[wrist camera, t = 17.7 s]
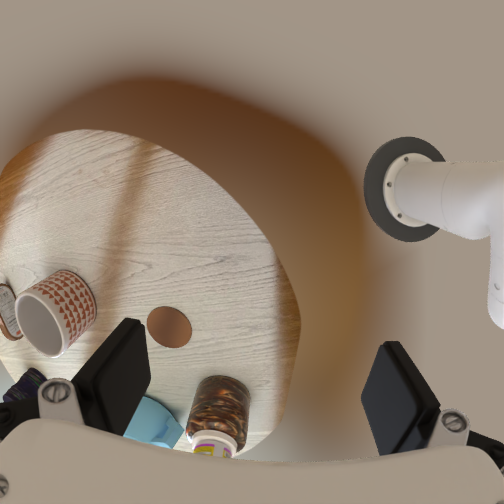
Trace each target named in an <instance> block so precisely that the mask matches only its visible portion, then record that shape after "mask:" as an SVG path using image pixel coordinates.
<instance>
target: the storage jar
mask: <svg viewBox="0 0 504 504" xmlns="http://www.w3.org/2000/svg"><path fill="white" fill-rule="evenodd" d="M45 381H47V379H46V378H45V376H44V375H43V374H42V373H41V372H39V371H38V370H37V369H35V368H30V369H29V370H28V371H27V372H25V373H24V374H23V376H21V378H20V380H19V381H18V382H17V383H16V384H15V385H13V386H12V387H11V388H10V389H9V390H8V391H7V392H6V394H4V395H3V400H4V402H9V401H15V400H20V399H25V398H31V397H36V396H38V389H39V387H40V385H41V384H43V383H44V382H45Z"/></svg>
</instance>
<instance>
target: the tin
mask: <svg viewBox="0 0 504 504" xmlns="http://www.w3.org/2000/svg"><path fill="white" fill-rule="evenodd" d="M15 301H16V298H15V295H14V293H13V291H12V289H11V288H10V287H9V286H8V285H6V284H3V283H1V284H0V329H1V331H2V333H3V334H4V336H5V337H6V338H7V339H9V340H11V341H15V340H19V339H21V338H22V337H23V336H24V335H23V334H22V332H21V330H20V328H19V326H18V323H17V320H16V316H15Z"/></svg>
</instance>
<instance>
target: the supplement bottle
mask: <svg viewBox="0 0 504 504" xmlns="http://www.w3.org/2000/svg"><path fill="white" fill-rule="evenodd" d="M193 453H195V454H202V455H208V456H215V457H223V458H231V457H232V452H231V449H230V448H229V447H228V446H227V445H225V444H223V443H221V442H218V441H213V440H204V441H201V442H198V443H197V444H196V445H195V448H194V451H193Z"/></svg>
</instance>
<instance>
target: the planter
mask: <svg viewBox="0 0 504 504" xmlns="http://www.w3.org/2000/svg"><path fill="white" fill-rule="evenodd" d="M15 316H16V320H17V323H18V326H19V328H20V330H21V332H22V334H23V335H24V337H25V338H26V340H27V341H28V342H29V344H30V345H31V346H32V347H33V348H34V349H35V350H37V351H38V352H39V353H41V354H42V355H44V356H47V357H50V358H56V357H59V356H61V355H62V354H63V353H64V352H65V351H66V350H67V349H68V348H69V347H70V346H71V345H72V344H73V343H74V342H75V341H76V340H77V339H78V338H79V337H80V336H81V335H82V334H83V333H84V332H85V331H86V330H87V329H88V328H89V327H90V326H91V325H92V324H93V322H94V320H95V316H96V305H95V301H94V298H93V295H92V293H91V291H90V289H89V288H88V286H87V285H86V283H85V282H84V281H83V280H82V279H81V278H80V277H79V276H77V275H76V274H74V273H72V272H70V271H64V270H63V271H58V272H56V273H54V274H52V275H51V276H49V277H47V278H45V279H44V280H42V281H40V282H39V283H37V284H35V285H33V286H32V287H30V288H28V289H27V290H25V291H23V292H22V293H20V294H19V295H18V296H17V298H16V301H15Z"/></svg>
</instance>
